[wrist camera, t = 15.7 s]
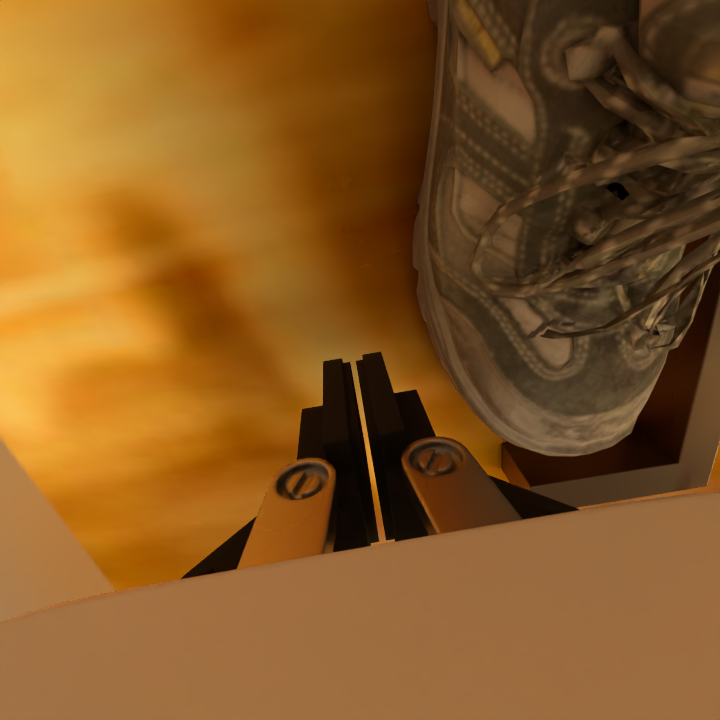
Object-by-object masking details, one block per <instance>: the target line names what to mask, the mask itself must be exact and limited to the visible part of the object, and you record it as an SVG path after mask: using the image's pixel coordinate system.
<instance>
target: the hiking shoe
mask: <svg viewBox="0 0 720 720" xmlns="http://www.w3.org/2000/svg"><path fill="white" fill-rule="evenodd" d="M427 5H428V12H429V17H430V19H431V20H432V22H433V23H434V24H435V25H436V26H437V28H438V41H437V56H436V70H435V83H434V97H433V110H432V118H431V126H430V133H429V141H428V149H427V156H426V164H425V173H424V178H423V181H422V185H421V188H420V192H419V195H418V199H417V203H418V204H419V206H420V208H419V211H418V214H417V216H416V219H415V222H414V233H413V246H412V247H413V267H414V268H415V269H416V270H418V285H417V292H416V294H417V298H418V302H419V306H420V310H421V314H422V319H423V320H425V321H426V322H427V326H428V331H429V335H430V339H431V342H432V344H433V346H434V349H435V351H436V353H437V355H438V358H439V360H440V362H441V364H442V366H443V369H444V370H445V371H446V372H448V374H449V376H450V378H451V380H452V382H453V384H454V386H455V388H456V389H457V391H458V392H459V393H460V395H461V396H462V397H463V399H464V400H465V401H466V403H467V404H468V405H469V407H470V408H471V409H472V411H473V412H474V413H475V414H476V415H477V416H478V417H479V418H480V419H481V420H482V421H483V422H484V423H485V424H486V425H487V426H488V427H489V428H490V429H491V430H492V431H493V432H494V433H495V434H496V435H498V436H499V437H501V438H503V439H505V440H506V441H508V442H510V443H512V444H513V445H516V446H519V447H522V448H525V449H528V450H531V451H534V452H537V453H541V454H544V455H547V456H579V455H585V454H591V453H594V452H597V451H600V450H603V449H606V448H609V447H612V446H613V445H615V444H616V443H618V442H619V441H620V440H622V439H623V438H625V437H626V436H627V435H629V434H630V433H631V432H632V430H633V427H634V425H635V422H636V419H637V416H638V415H639V413H640V412H641V410H642V408H643V407H644V405H645V404H646V402H647V400H648V398H649V396H650V394H651V392H652V390H653V388H654V386H655V384H656V381H657V379H658V377H659V375H660V373H661V371H662V368H663V366H664V364H665V361H666V358H667V354H668V351H669V350H671V349H674V348H676V347H678V346H679V344H680V342H681V341H682V339H683V337H684V335H685V334H686V332H687V330H688V328H689V327H690V325H691V323H692V322H693V319H694V316H695V313H696V310H697V307H698V304H699V301H700V299H701V296H702V293H703V290H704V287H705V284H706V282H707V279H708V277H709V275H710V273H711V270H712V268H713V266H714V265H715V264H716V263H718V262H719V261H720V253H719V254H717V252H718V250H719V249H720V0H427ZM710 234H711V235H710ZM707 235H710V237H709V239H708V240H707V241H706V242H704V243H703V244H701V245H700V246H699V247H697V248H696V249H695V250H693V251H692V252H690V253H689V254H688V255H686V256H685V257H683V258H682V255H683V252H684V249H685V246H686V244H687V243H690V242H692V241H695V240H697V239H700V238H702V237H705V236H707ZM681 258H682V259H681ZM703 261H704V262H703ZM699 264H700V265H699ZM697 265H699V266H698V267H697V268H696V269H695V270H694V271H693V272H692V273H691V274H690V275H689V276H688V277H687V278H685V279H683V280H681V277H682V276H684V275H685V274H686V273H688V272H689V271H691V270H692V269H693V268H695V267H696V266H697ZM704 272H705V275H704ZM696 278H697V281H696V283H695V285H694V287H693V288H692V290H691V291H690V293H689V294H688V295H687V297H686V298H685V300H684V301H683V303H682V304H681V305H680V307H679V301H680V296H681V292H682V291H683V290H684V289H685V288H686V287H687V286H688V285H689V284H690V283H692V282H693V281H694V280H695V279H696ZM685 283H686V284H685ZM682 285H683V286H682ZM681 286H682V287H681ZM678 307H679V308H678ZM675 327H677V328H676V330H675V332H674V329H675ZM673 334H674V335H673Z"/></svg>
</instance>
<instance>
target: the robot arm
mask: <svg viewBox="0 0 720 720" xmlns="http://www.w3.org/2000/svg"><path fill="white" fill-rule="evenodd" d="M362 356H363V360H358V361H356V364H357V370H358V376H359V383H360V389H361V395H362V401H363V407H364V413H365V419H366V425H367V431H368V437H369V443H370V449H371V455H372V461H373V466H374V472H375V478H376V484H377V490H378V496H379V501H380V507H381V513H382V519H383V525H384V530H385V536H386V540H391V539H395V542H391V543H385V544H379V545H373V546H371V543H374V542H379V538H378V531H377V524H376V517H375V511H374V504H373V497H372V490H371V483H370V476H369V470H368V463H367V456H366V449H365V443H364V437H363V432H362V426H361V420H360V415H359V409H358V404H357V398H356V392H355V387H354V381H353V375H352V370H351V364H350V362H347V363H343V361H342V358H341V359H335V360H329V361H323V406H317V407H312V408H306V409H302V414H301V424H300V435H299V445H298V455H297V460H296V461H294V462H291V463H289V464H287V465H286V466H284V467H282V468H281V469H280V470H279V471H278V472H277V473H276V474H275V475H274V476H273V478H272V479H271V481H270V483H269V486H268V488H267V491H266V493H265V496H264V499H263V501H262V504H261V507H260V509H259V512H258V514H257V516H256V517H255V518H254V519H253V520H251V521H250V522H249V523H248V524H247V525H245V526H244V527H243V528H242V529H240V530H239V531H238V532H237V533H236V534H234V535H233V536H232V537H231V538H229V539H228V540H227V541H226V542H225V543H223V544H222V545H221V546H220V547H218V548H217V549H216V550H215V551H214V552H212V553H211V554H210V555H209V556H207V557H206V558H205V559H204V560H203V561H201V562H200V563H199V564H198V565H196V566H195V567H194V568H193V569H191V570H190V571H189V572H188V573H187V574H185V575H184V576H183V577H182V578H181V579H180V580H174V581H168V582H163V583H157V584H152V585H146V586H140V587H135V588H129V589H124V590H119V591H115V592H110V593H106V594H101V595H96V596H91V597H87V598H82V599H77V600H72V601H67V602H63V603H59V604H56V605H52V606H49V607H45V608H41V609H38V610H34V611H31V612H27V613H25V614H22V615H19V616H16V617H14V618H11V619H8V620H6V621H3V622H0V720H720V492H708V493H693V494H684V495H677V496H669V497H662V498H654V499H647V500H640V501H632V502H625V503H619V504H613V505H607V506H601V507H595V508H589V509H583V510H579V509H577V508H575V507H573V506H570V505H567V504H564V503H562V502H559V501H556V500H554V499H551V498H548V497H546V496H543V495H540V494H538V493H535V492H532V491H529V490H527V489H524V488H521V487H519V486H516V485H513V484H511V483H508V482H505V481H503V480H500V479H497V478H495V477H492V476H489V475H487V473H486V472H485V471H484V470H483V468H482V467H481V466H480V464H479V463H478V462H477V461H476V459H475V458H474V457H473V456H472V454H471V453H470V452H469V451H468V449H467V448H466V447H465V446H464V445H462V444H461V443H460V442H458V441H456V440H453V439H450V438H446V437H436V435H435V433H434V431H433V428H432V426H431V424H430V421H429V419H428V416H427V414H426V412H425V409H424V407H423V405H422V402H421V400H420V397H419V395H418V393H417V391H416V390H411V391H405V392H399V393H394V392H393V389H392V386H391V383H390V379H389V376H388V373H387V370H386V367H385V363H384V360H383V357H382V354H381V352H376V353H370V354H364V355H362Z"/></svg>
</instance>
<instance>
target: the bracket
mask: <svg viewBox="0 0 720 720" xmlns="http://www.w3.org/2000/svg"><path fill="white" fill-rule="evenodd" d="M710 235H711V234H710ZM710 235H707V236H705V237H702V238H700V239H697V240H695V241H692V242H690V243H687V244H686V246H685V249H684V252H683V255H682V258H683V257H685V256H686V255H688V254H689V253H690V252H692V251H693V250H695V249H696V248H697V247H699V246H700V245H701V244H703V243H704V242H706V241H707V240H708V239H709V237H710ZM719 253H720V249H719V250H718V252H717V254H719ZM682 258H681V259H682ZM703 262H704V261H703ZM699 265H700V264H699ZM699 265H697V266H696V267H695V268H693V269H692V270H691V271H689V272H688V273H686V274H685V275H684V276H682V277H681V280H683V279H685V278H687V277H688V276H689V275H690V274H691V273H692V272H693V271H694V270H695V269H696V268H697V267H698V266H699ZM704 275H705V272H704ZM696 281H697V278H696V279H695V280H694V281H693V282H692V283H690V284H689V285H688V286H687V287H686V288H685V289H684V290H683V291H682V292H681V296H680V301H679V307H680V305H681V304H682V303H683V301H684V300H685V298H686V297H687V295H688V294H689V293H690V291H691V290H692V288H693V287H694V285H695V283H696ZM685 284H686V283H685ZM682 286H683V285H682ZM682 286H681V287H682ZM679 307H678V308H679ZM676 328H677V327H675V329H674V332H675V330H676ZM673 335H674V334H673ZM719 444H720V261H719V262H718V263H716V264H715V265H714V266H713V268H712V270H711V273H710V275H709V277H708V279H707V282H706V284H705V287H704V290H703V293H702V296H701V299H700V301H699V304H698V307H697V310H696V313H695V316H694V319H693V322H692V323H691V325H690V327H689V328H688V330H687V332H686V334H685V335H684V337H683V339H682V341H681V342H680V344H679V346H678V347H676V348H674V349H671V350H669V351H668V354H667V358H666V361H665V364H664V366H663V368H662V371H661V373H660V375H659V377H658V379H657V381H656V384H655V386H654V388H653V390H652V392H651V394H650V396H649V398H648V400H647V402H646V404H645V405H644V407H643V408H642V410H641V412H640V413H639V415H638V416H637V419H636V422H635V425H634V427H633V430H632V432H631V433H630V434H629V435H627V436H626V437H625V438H623V439H622V440H620V441H619V442H618V443H616V444H615V445H613V446H612V447H609V448H606V449H603V450H600V451H597V452H594V453H591V454H585V455H579V456H547V455H544V454H541V453H537V452H534V451H531V450H528V449H525V448H522V447H519V446H516V445H513V444H512V443H504V444H503V449H502V470H503V472H504V473H505V475H506V477H507V478H508V480H509V482H510V483H511V484H513V485H516V486H519V487H521V488H524V489H527V490H529V491H532V492H535V493H538V494H540V495H543V496H546V497H548V498H551V499H554V500H556V501H559V502H562V503H564V504H567V505H570V506H573V507H575V508H577V507H583V506H589V505H595V504H601V503H607V502H613V501H620V500H626V499H632V498H638V497H644V496H650V495H656V494H662V493H668V492H675V491H681V490H687V489H692V488H698V487H705V486H707V485H708V481H709V478H710V474H711V471H712V468H713V464H714V461H715V457H716V454H717V450H718V447H719Z"/></svg>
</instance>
